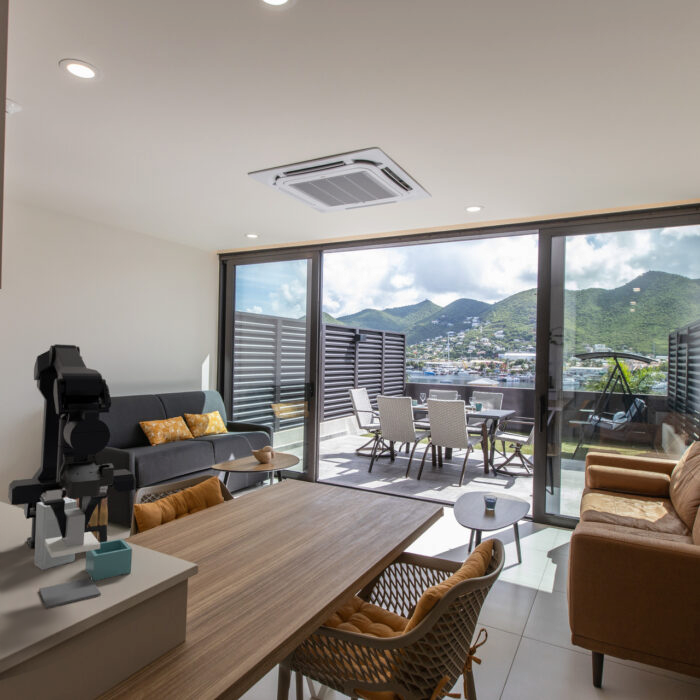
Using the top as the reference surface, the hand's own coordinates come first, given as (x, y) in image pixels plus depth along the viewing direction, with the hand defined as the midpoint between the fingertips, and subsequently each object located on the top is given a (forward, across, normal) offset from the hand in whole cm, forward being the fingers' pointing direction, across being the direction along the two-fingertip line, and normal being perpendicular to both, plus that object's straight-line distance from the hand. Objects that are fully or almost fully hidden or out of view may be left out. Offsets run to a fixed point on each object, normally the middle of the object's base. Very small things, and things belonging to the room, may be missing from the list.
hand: (72, 535), depth 86 cm
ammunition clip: (+10, +5, +19) cm, 22 cm away
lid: (+2, 0, 0) cm, 2 cm away
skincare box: (+10, 0, +15) cm, 18 cm away
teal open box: (+10, +8, +6) cm, 14 cm away
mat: (+10, 0, 0) cm, 10 cm away
